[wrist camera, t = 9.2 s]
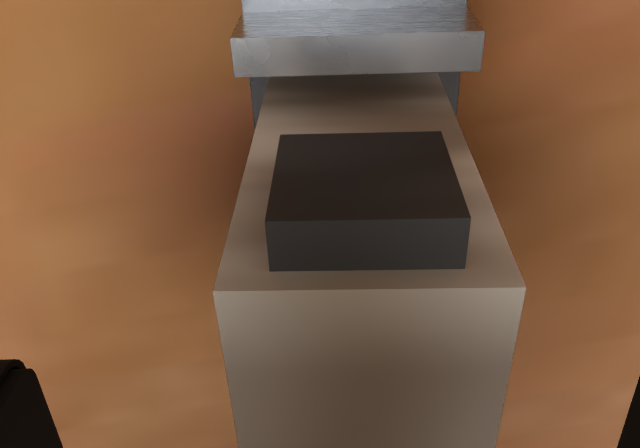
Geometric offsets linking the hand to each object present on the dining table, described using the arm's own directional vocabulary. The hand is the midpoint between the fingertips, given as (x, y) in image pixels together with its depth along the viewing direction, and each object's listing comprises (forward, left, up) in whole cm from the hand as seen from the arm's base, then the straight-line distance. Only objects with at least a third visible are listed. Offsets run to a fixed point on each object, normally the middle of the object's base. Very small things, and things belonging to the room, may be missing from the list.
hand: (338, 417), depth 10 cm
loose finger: (+1, 0, -8) cm, 8 cm away
